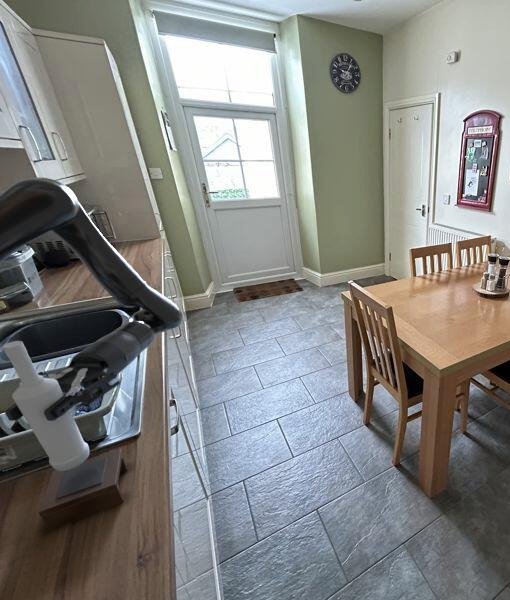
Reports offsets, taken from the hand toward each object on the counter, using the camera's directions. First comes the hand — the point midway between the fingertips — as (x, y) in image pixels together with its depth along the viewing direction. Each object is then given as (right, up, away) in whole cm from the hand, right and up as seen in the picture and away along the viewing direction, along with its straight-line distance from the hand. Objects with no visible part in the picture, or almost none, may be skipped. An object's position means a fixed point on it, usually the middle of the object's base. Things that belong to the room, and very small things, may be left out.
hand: (29, 416), depth 53 cm
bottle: (-1, -11, +8) cm, 13 cm away
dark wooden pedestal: (+1, -19, +10) cm, 21 cm away
